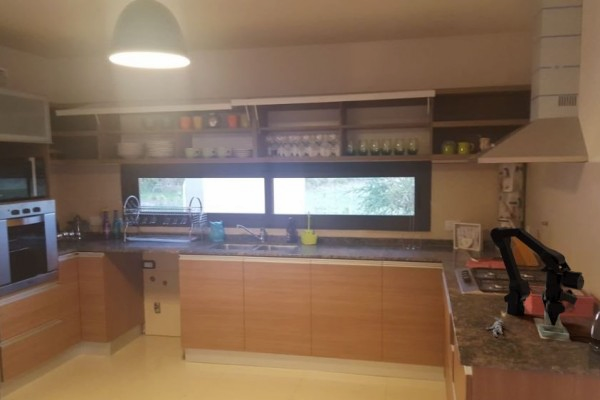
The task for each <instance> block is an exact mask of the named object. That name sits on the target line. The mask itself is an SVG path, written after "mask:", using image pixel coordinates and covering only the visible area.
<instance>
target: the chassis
mask: <svg viewBox="0 0 600 400" xmlns="http://www.w3.org/2000/svg"><path fill="white" fill-rule="evenodd" d="M533 321H534V323H535V326H536V330H537V331H538V335H539V337H540V339H545V340H546V339H547V340H549V341H548V342H551V341H550V340H552V341H553V340H556V341H562V342H565V343H564V344H567V343H566V342H568V343H569V342H570V343H572V340H571V339H570V333H569V332H568V330H567V328H566V326H564V325H563V324H562V321H561V320H560V323H559V326H550V325H545V323H544V318H539V317H533ZM541 341H543V340H541ZM556 343H559V342H556Z"/></svg>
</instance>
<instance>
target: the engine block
mask: <svg viewBox="0 0 600 400" xmlns="http://www.w3.org/2000/svg"><path fill="white" fill-rule="evenodd" d="M543 313H544V314H543V315H544V316H543V319H544V323H545V325H550V326H554V325H552V324H551V321H550V318H549V315H548V313H547V310H545V309H544V311H543ZM560 321H561V314H559V316H558V319H557V321H556V324H555V326H559V323H560Z"/></svg>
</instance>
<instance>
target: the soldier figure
mask: <svg viewBox="0 0 600 400" xmlns="http://www.w3.org/2000/svg"><path fill="white" fill-rule="evenodd" d="M494 320H495V321H494V323H493V324H492V326H491V327H486V328H485V329H487V331H488V330H492V336H493V337H497V338H498V337H499V336H498V334H497V333H499V334H501V335H503V334H504V333H503V328H502V327H503V326H502V324H503V323H504V319H503V318H502V317H500V318H498V317H494Z"/></svg>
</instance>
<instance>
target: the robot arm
mask: <svg viewBox="0 0 600 400" xmlns="http://www.w3.org/2000/svg"><path fill="white" fill-rule="evenodd" d="M489 236H490V238H491V241H492V242H493V244H494V246H496V247H497V248H498V250H499V253H500V256H501V259H502V262H503V265H504V268H505V271H506V274H507V276H508V281H509V282H508V293H507V294H506V295H504V296H503V299H504V302H505V303H506V314H508V315H511V316H525V312H526V311H525V310H526V309H525V308H526V307H525V304H524V302H526V301H527V299H528V298H529V297H530V296H531V290H532V288H531V287H530V284H529V281H528V280H524V279H523V278H522V276H521V272H520V269H519V268H518V265H517V262H516V258H515V256H514V255H515V254H514V253H513V249H512V247H511V245H512V244H511V243H512V238H514V237H515V238H516V239H517V240H519V241H520V242H521V243H522V244H524V245H525V246H526V247H527V248H529V249H530V250H531V251H533V252H534V253H535V254H536V255H538V257H539V259H540V261H541V262H542V263H543V264H544V267H543V268H542V269H540V271H541V272H543V273H545V284H544V290H543V291H542V292H541V294H540V298H541V301H542V304H543V307H544V310H547V313H548V315H549V318H550V321H551V324H552V325H554V326H555V324H556V321H557V319H558V316H559V314H560V315H561V314H563V313H565V312H566V305H565V304H564V303H563V302H565V303H566V302H567V303H569V304H571V305H573V306H575V305H576V303H577V301H578V299H579V297H578V296H577V295H576V294H575V293H573V290H572V289H574V290H578V291H582V289H583V288H584V285H585V278H584V276H583V272H581V271H574V270H572V269H571V267H570V266H569V264H568V263H567V261H566V257H565V255H564V254H562V253H561V252H559V251H558V250H556V249H552V248H550V247H548V246H547V245H545V244H543V243H542V242H541V241H540V240H538V239H537V237H534V236H533V235H532V234H530V233H529V231H526V229H525V228H524V227H523V226H516V227H511V228H510V227H509V228H508V227H506V226H501V227H500V226H499V227H495V228H492V229H491V231H490V233H489ZM562 286H563V287H564V288H565V287H566V288H567V289H566V290H564V289H563V287H562Z"/></svg>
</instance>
